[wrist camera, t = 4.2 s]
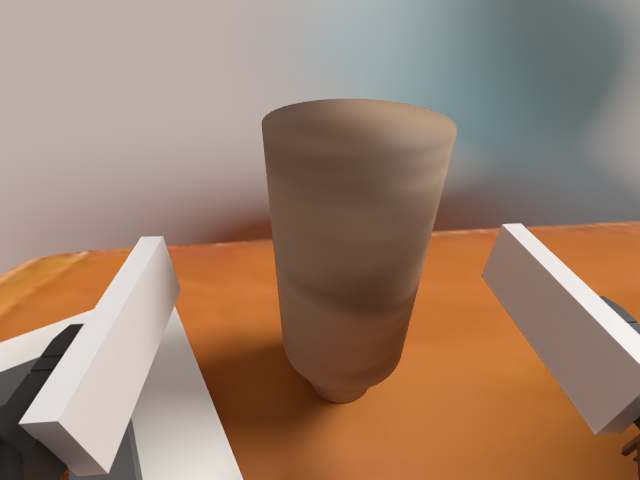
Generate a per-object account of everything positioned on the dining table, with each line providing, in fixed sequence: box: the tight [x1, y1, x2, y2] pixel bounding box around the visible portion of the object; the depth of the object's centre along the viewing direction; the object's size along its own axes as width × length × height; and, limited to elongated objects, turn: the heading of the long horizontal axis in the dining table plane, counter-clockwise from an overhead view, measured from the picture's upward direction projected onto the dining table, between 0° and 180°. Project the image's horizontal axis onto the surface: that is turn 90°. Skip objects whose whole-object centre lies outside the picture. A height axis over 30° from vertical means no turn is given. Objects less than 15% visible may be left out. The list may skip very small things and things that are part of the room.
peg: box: [262, 99, 457, 403], centre depth 16 cm, size 7×7×16 cm
